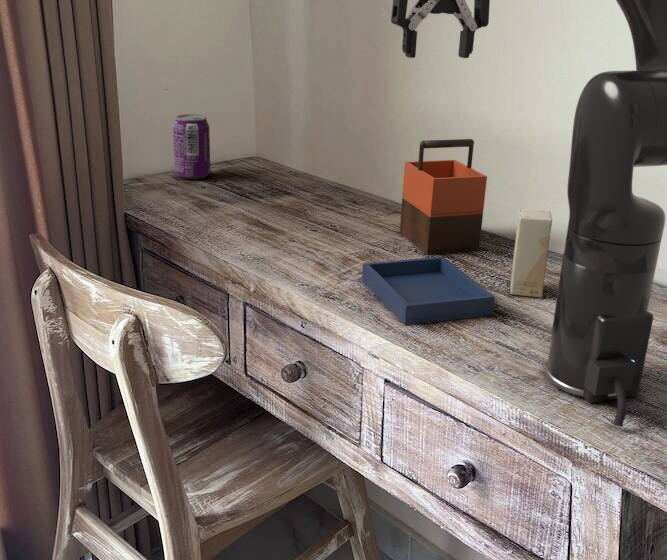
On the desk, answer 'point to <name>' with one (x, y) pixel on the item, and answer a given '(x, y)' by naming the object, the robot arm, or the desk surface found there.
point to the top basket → (444, 183)
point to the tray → (427, 290)
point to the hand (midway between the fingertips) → (437, 57)
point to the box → (530, 252)
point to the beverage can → (191, 146)
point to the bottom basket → (440, 230)
